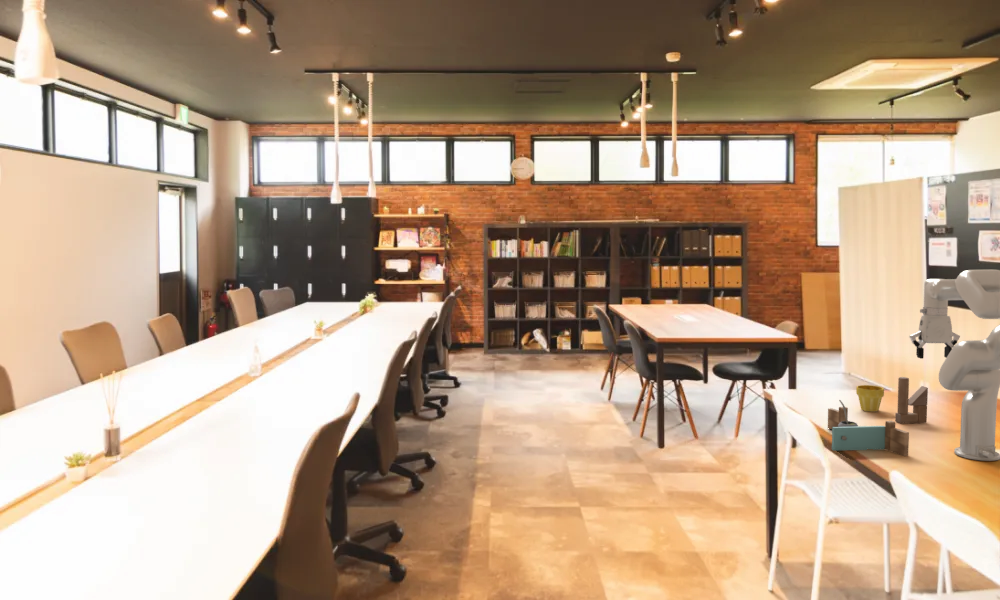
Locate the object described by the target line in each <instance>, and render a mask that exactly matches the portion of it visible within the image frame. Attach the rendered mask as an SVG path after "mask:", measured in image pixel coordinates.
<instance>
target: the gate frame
mask: <svg viewBox="0 0 1000 600" xmlns="http://www.w3.org/2000/svg"><path fill="white" fill-rule="evenodd" d="M845 409H846V415H847V419H848V418H849V416H848V414H849V413H848V410H849V408H848V407H847V406H845ZM842 421H846V418H845V413H844V410H843V406H839V407H838V409H835V408H831V407H830V408H828V409H827V429H828V428H829V429H832V427H838V424H839V423H840V422H842ZM884 424H885V425H884V426H885V449H884V450H885V451H888V452H892V453H895V454H898V455H900V456H904V457H908V456H909V446H910V445H909V443H910V441H909V440H910V435H909V434H910V432H909V431H906V430H903V429H900V428H896V421H895V420H894V421H893V420H885V423H884ZM829 429H828V430H829Z"/></svg>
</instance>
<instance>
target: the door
mask: <svg viewBox="0 0 1000 600" xmlns="http://www.w3.org/2000/svg"><path fill="white" fill-rule="evenodd" d="M831 433H832V434H831V450H832V451H838V452H839V451H864V450H865V451H867V449H873V450H874V451H875V450H885V425H862V426H861V425H860V426H859V425H858V426H854V427H832V430H831Z"/></svg>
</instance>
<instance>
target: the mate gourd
mask: <svg viewBox="0 0 1000 600" xmlns="http://www.w3.org/2000/svg"><path fill="white" fill-rule="evenodd" d="M839 402H840V405H841V407H843V410H844V413H845V418H846V421H842V422H840V423H839V424H838V427H854V426H859V425H858V423H857V422H854V421H851V420H850V421H849V420H848V419H847V415H846V409H845V407H846V405H845V404H844V403H843V401H842V400H841V399H839Z"/></svg>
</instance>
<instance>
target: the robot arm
mask: <svg viewBox="0 0 1000 600" xmlns="http://www.w3.org/2000/svg"><path fill="white" fill-rule="evenodd" d="M923 287H924V289H923V307H922V308H920V309H919V313H920V314H922V315H921V316H920V320H919V326H918V331H916V332H913V333H911V334H910V335H909V336H908V338H909V339H910V341H911V343H912V344H913V345H914V346H915V348H916V350H915V351H916V357H917V358H918V359H922V360H923V359H924V354H925V353H924V351H925V350H924V346H925V345H926V344H944V345H945V347H944V352H943V354H944V355H943V356H944V358H945V359H944V361H943V363H942V364H941V367H940V368H939V372H938V382H939V384H940V386H942V388H944V389H945V390H948V391H955V392H956V391H958V392H959V391H961V392H963V391H964V392H966V394H965V395H964V396H963V398H962V401H961V410H960V411H961V412H960V416H961V417H960V439H959V441H960V443H959V446H958V447H955V448H954V454H955V455H957V456H959V457H961V458H965V459H970V460H973V461H974V460H975V461H981V462H982V461H983V462H994V461H998V460H999V461H1000V453H999V452H997V451H996V427H997V425H996V424H997V406H998V405H997V404H998V396H999V391H1000V324H998V325H997V326H995V327H994V328H993V329H992V331H991V332H990V333H989V335H988V337H986V338H985V339H981V340H978V339H977V340H962V341H960V342H958V341H959V340H960V337H961V335H959V334H957V333H956V332H953V327H952V326H953V325H952V320H951V319H952V318H951V315H948V312H949V311H948V306H949V301H964V303H965V304H966V306H967V307H968V308H969V309H970V311H971V312H972V313H973V314H974V315H975V316H976V317H978V318H980V319H982V320H983V319H984V320H1000V269H968V270H963V271H962V272H960V273H959V275H957V277H956V278H954V279H953V278H952V279H951V278H947V279H945V278H928V279H925V281H924V286H923ZM916 338H918V339H916ZM917 340H918V341H917Z"/></svg>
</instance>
